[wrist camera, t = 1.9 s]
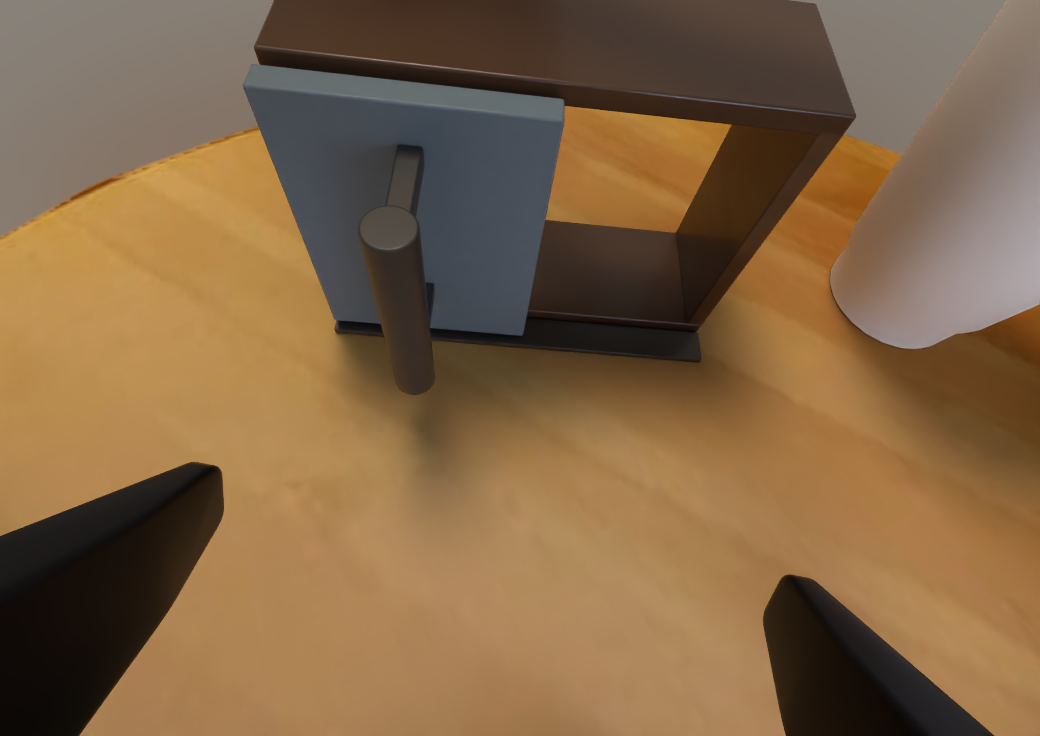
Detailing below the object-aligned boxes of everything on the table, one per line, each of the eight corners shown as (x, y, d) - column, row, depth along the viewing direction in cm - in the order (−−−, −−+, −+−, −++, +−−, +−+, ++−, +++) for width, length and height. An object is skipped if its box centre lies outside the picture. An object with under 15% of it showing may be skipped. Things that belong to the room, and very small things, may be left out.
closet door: (518, 425, 24) (564, 247, 13) (313, 410, 24) (186, 211, 13) (523, 319, 27) (565, 97, 16) (338, 303, 26) (250, 62, 15)
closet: (699, 362, 27) (872, 155, 16) (335, 332, 26) (234, 85, 15) (684, 243, 31) (816, 2, 19) (363, 211, 30) (300, -64, 18)
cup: (743, 265, 30) (989, -66, 16) (871, 188, 34) (1158, -133, 20) (914, 433, 27) (1431, 191, 12) (1036, 325, 30) (1535, 46, 16)
